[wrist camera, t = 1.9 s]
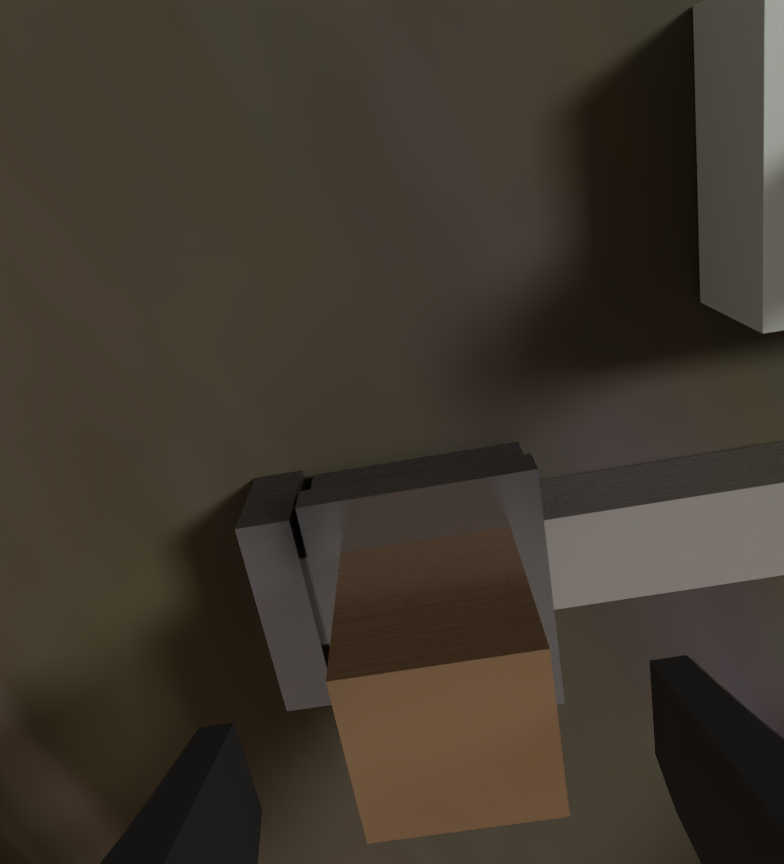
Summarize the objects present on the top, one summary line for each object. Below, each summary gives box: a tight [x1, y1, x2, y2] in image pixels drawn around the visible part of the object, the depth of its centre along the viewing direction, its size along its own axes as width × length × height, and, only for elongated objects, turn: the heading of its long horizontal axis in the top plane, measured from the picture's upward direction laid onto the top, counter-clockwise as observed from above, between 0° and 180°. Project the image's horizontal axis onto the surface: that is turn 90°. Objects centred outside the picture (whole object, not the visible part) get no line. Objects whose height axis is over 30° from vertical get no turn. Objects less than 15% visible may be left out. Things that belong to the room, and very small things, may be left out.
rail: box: [235, 441, 784, 711], centre depth 18 cm, size 18×5×3 cm, turn 100°
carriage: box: [295, 442, 570, 844], centre depth 16 cm, size 5×6×7 cm
